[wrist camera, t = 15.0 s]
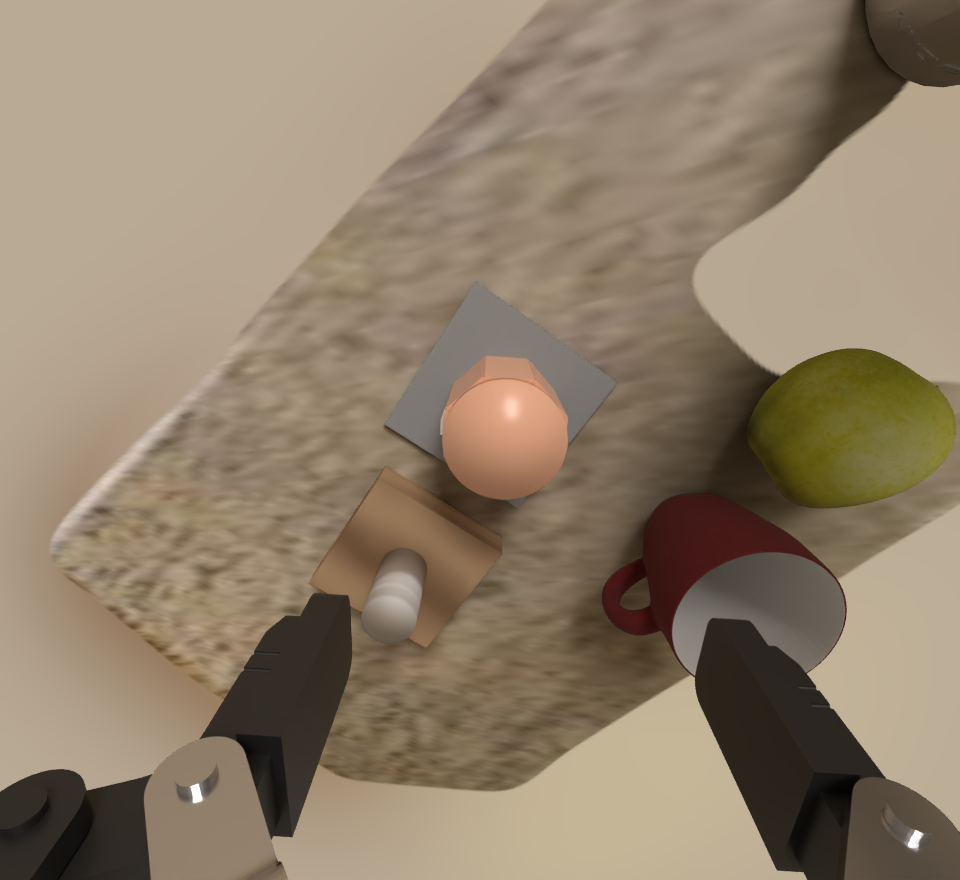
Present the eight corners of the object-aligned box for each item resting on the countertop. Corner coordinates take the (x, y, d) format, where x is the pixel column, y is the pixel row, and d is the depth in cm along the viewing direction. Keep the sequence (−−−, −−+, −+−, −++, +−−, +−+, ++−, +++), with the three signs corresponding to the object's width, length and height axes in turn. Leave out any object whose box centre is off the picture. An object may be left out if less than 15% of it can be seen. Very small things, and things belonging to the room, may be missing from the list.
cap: (558, 360, 29) (575, 385, 23) (546, 457, 31) (560, 503, 25) (450, 353, 29) (439, 376, 23) (446, 450, 31) (434, 495, 25)
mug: (626, 611, 35) (676, 739, 26) (563, 528, 33) (591, 633, 24) (766, 534, 33) (876, 642, 23) (707, 440, 31) (801, 516, 21)
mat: (476, 281, 28) (476, 281, 28) (615, 381, 30) (617, 382, 29) (385, 422, 31) (384, 423, 31) (517, 505, 33) (517, 508, 32)
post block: (385, 465, 32) (357, 518, 25) (501, 537, 33) (503, 604, 27) (318, 565, 34) (277, 636, 28) (429, 627, 36) (415, 709, 29)
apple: (900, 410, 30) (1037, 459, 22) (762, 495, 32) (845, 566, 24) (842, 305, 28) (970, 319, 21) (699, 402, 30) (768, 448, 23)
